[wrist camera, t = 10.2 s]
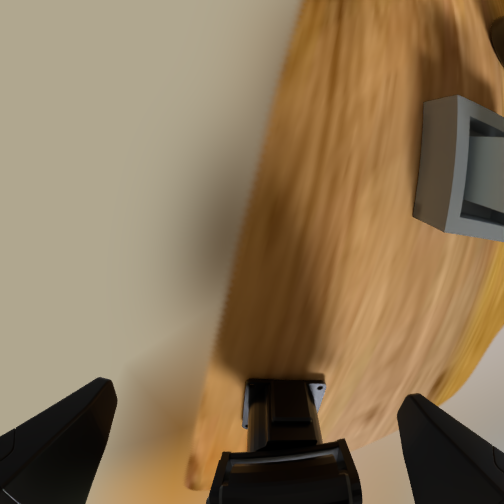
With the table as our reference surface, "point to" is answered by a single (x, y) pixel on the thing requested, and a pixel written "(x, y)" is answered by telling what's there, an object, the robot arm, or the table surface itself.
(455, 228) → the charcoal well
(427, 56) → the table surface
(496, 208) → the blue-grey block
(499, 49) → the supplement bottle
